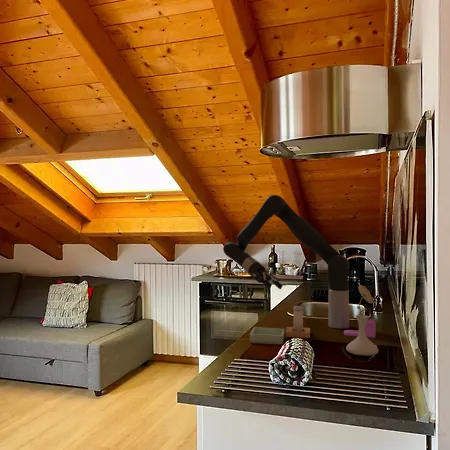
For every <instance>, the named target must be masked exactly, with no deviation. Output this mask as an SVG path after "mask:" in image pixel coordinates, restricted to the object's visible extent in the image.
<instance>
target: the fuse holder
mask: <svg viewBox="0 0 450 450" xmlns="http://www.w3.org/2000/svg"><path fill="white" fill-rule="evenodd" d="M285 329H286V330H285V337H286V338H301V339H302V338H303V339H304V338H305V339H309V338H311V328H310V327H303V332H301V331H293V326H287V327H286V328H285Z"/></svg>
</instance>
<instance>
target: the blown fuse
mask: <svg viewBox="0 0 450 450" xmlns="http://www.w3.org/2000/svg"><path fill="white" fill-rule="evenodd" d="M292 308H293V326H292V327H293V331H301V332H303V328H304V317H303V316H304V306H302V305H294V306H292Z"/></svg>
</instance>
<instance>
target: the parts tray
mask: <svg viewBox="0 0 450 450" xmlns="http://www.w3.org/2000/svg"><path fill="white" fill-rule="evenodd" d="M285 329H286V328H277V327H260V326H259V327H257V326H256V327H255V326H254V327H253V328H252V329H251V331H250V333H249V343H250V344H264V345H280V344H281V345H282V344H284V342H285V341H284V340H285V337H286V330H285Z"/></svg>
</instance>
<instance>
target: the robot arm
mask: <svg viewBox="0 0 450 450" xmlns="http://www.w3.org/2000/svg"><path fill="white" fill-rule="evenodd" d="M274 215H275V216H276V217H277V218H278V219H279V220H280V221H282V222H283V223H284V224H285V225H286V226H287V228H288V229H289V230H290V232H291V233H292V235H293V236H294V237H295V238H296V239H297V240H298V241H299V242H300V243H301V244H303V246H305V248H307V249H308V250H310V251H311V252H313V253H314V254H316V255H317V256H319V257H320V258H321V259H322V260H323V261H324V263H326V265H327V284H328V302H327V303H328V310H327V311H328V312H327V313H328V318H327V319H328V327H329V328H333V329H349V328H350V307H349V306H350V304H349V301H350V299H349V298H350V296H349V295H350V293H349V292H350V285H349V270H350V269H349V268H350V262H349V259H348V258H347V257H345V256H344V255H343V254H341V253H340V252H339V251H337V250H336V249H335V248H334V247H332V245H331V244H329V243H328V241H327V240H326V239H325V238H324V236H322V234H321V233H319V231H318V230H317V229H315V227H313V226H312V224H310V223H309V222H308V221H306V220H305V219H304V218H303V217H302V216H300V215H299V214H298V213H296V212H295V211H294V209H292V208H291V206H290V205H289V204H288V203H287V202H286V200H285V199H284V198H283V197H281V196H280V195H277V194H271V195H268V197H266V199H265V201H264V202H263V204H262V206H261V207H260V208H259V209H258V211H257V213H255V215H254V216H253V217H252V218H251V220H250V221H249V222H248V223H247V224H246V225H245V226H244V227H243V228H242V230H241V231H240V232H239V233H238V234H237V235H236V239H237V242H236V243H234V242H232V241H230V242H229V241H228V242H226V243H225V244H224V245H223V248H222V250H223V253H224V255H226V256H227V257H228V258H229V259H231V260H232V261H233V262H235V263H236V264H238V266H240V267H241V268H242V269H243V270H244V271H245V272H246V273H247V274H248V275H250V277H252V279H254V280H255V281H257V283H259V284H262V285H264V286H265V287H267V289H271V288H272V286H273V285H274V286H275V287H276V288H277V289H278V290H281V289H282V288H283V286H284V285H283V284H282V283H280V279H279V278H277V277H276V276H275V275H274V274H272V273H269V272H266V267H265V266H264V265H263V264H262V263H260V262H259V261H258V260H257V259H255V258H254V257H252V256H251V255H250V254H249V253H247V252H245V250H246V249H247V248H248V245H249V244H250V242H252V241H253V239H255V237H256V236H257V235H258V234H259V232H260V231H261V229H262V228H263V227H264V225H265V224H266V222H268V221H269V219H270V218H272V217H273V216H274Z"/></svg>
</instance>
